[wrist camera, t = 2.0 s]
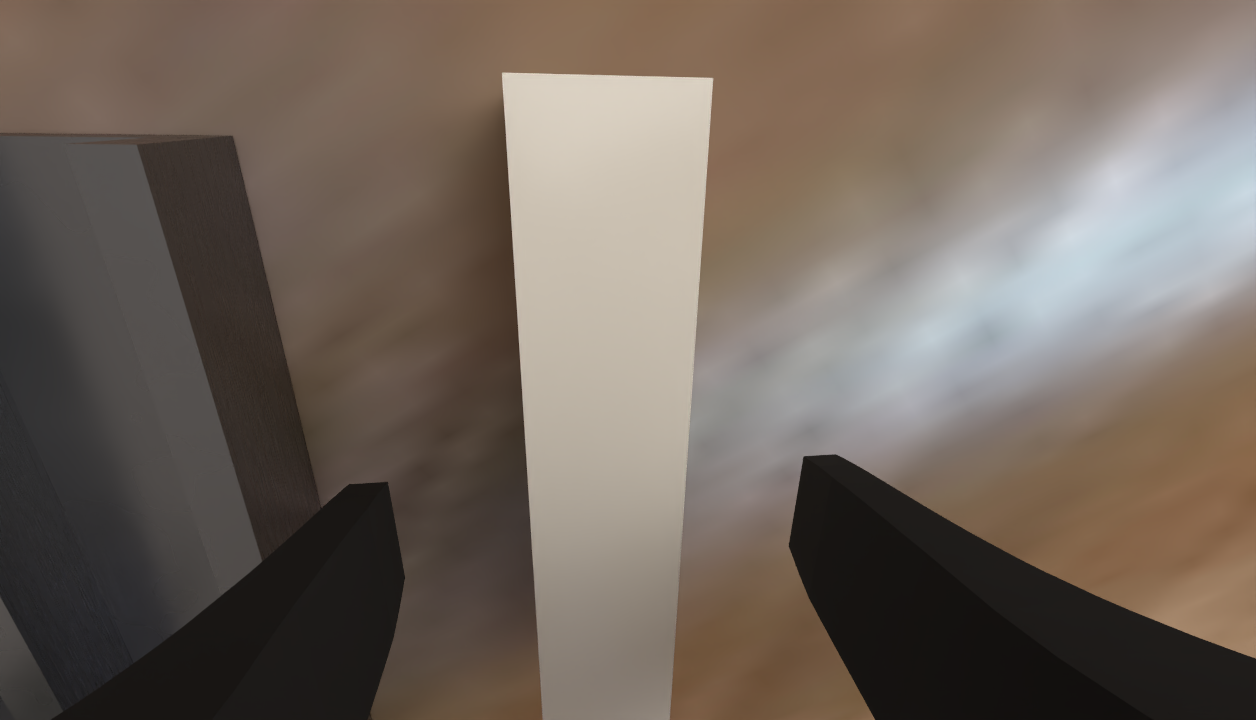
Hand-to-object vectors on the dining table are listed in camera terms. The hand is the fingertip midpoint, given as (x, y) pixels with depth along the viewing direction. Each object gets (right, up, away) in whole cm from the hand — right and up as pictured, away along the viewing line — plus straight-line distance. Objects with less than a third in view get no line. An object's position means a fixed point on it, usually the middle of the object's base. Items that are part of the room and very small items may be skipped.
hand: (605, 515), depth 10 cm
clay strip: (-1, +2, +5) cm, 5 cm away
